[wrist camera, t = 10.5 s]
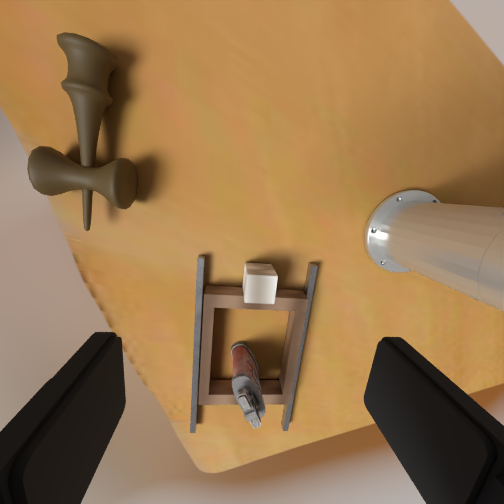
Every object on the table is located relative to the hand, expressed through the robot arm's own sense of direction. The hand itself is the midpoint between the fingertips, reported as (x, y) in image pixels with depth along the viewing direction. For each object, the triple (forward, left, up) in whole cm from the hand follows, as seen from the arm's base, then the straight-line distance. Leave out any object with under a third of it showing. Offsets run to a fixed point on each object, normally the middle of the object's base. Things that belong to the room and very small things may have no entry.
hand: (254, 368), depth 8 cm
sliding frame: (-4, +16, -26) cm, 31 cm away
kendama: (+18, -9, -27) cm, 33 cm away
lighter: (-4, +22, -26) cm, 34 cm away
